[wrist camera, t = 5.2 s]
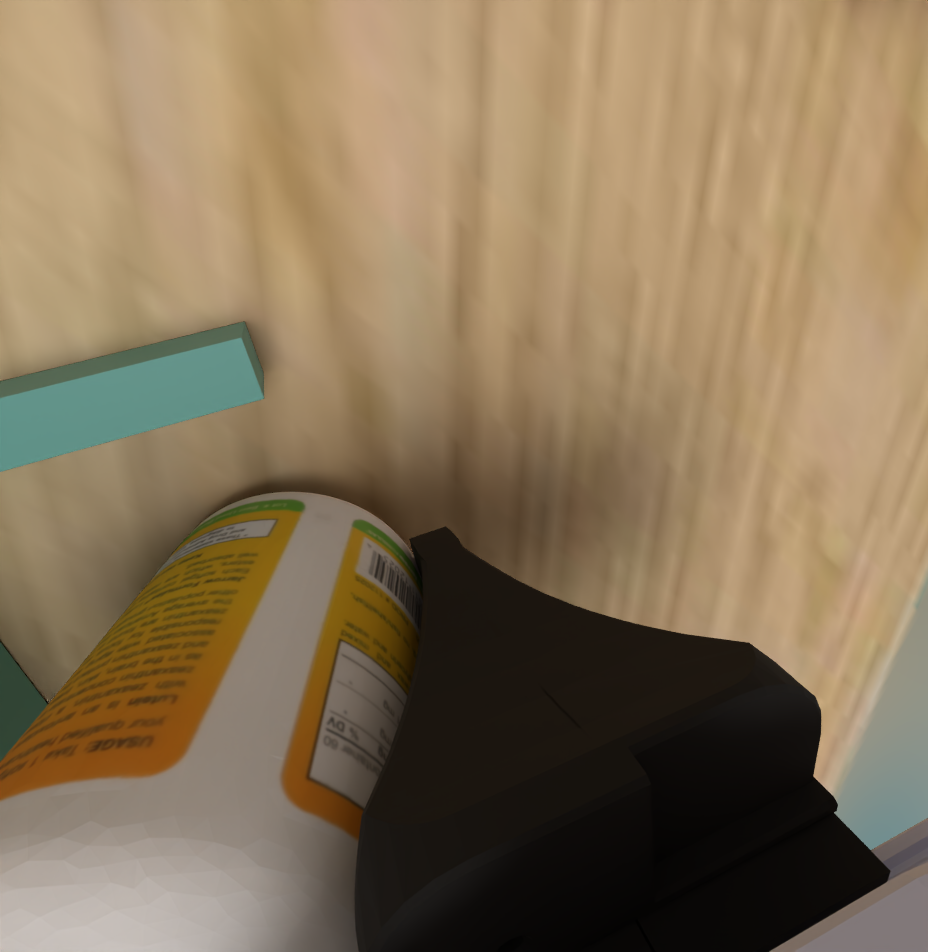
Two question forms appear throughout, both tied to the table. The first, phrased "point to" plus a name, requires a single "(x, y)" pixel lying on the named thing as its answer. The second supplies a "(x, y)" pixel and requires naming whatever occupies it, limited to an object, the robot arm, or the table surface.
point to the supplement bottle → (218, 744)
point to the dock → (113, 429)
